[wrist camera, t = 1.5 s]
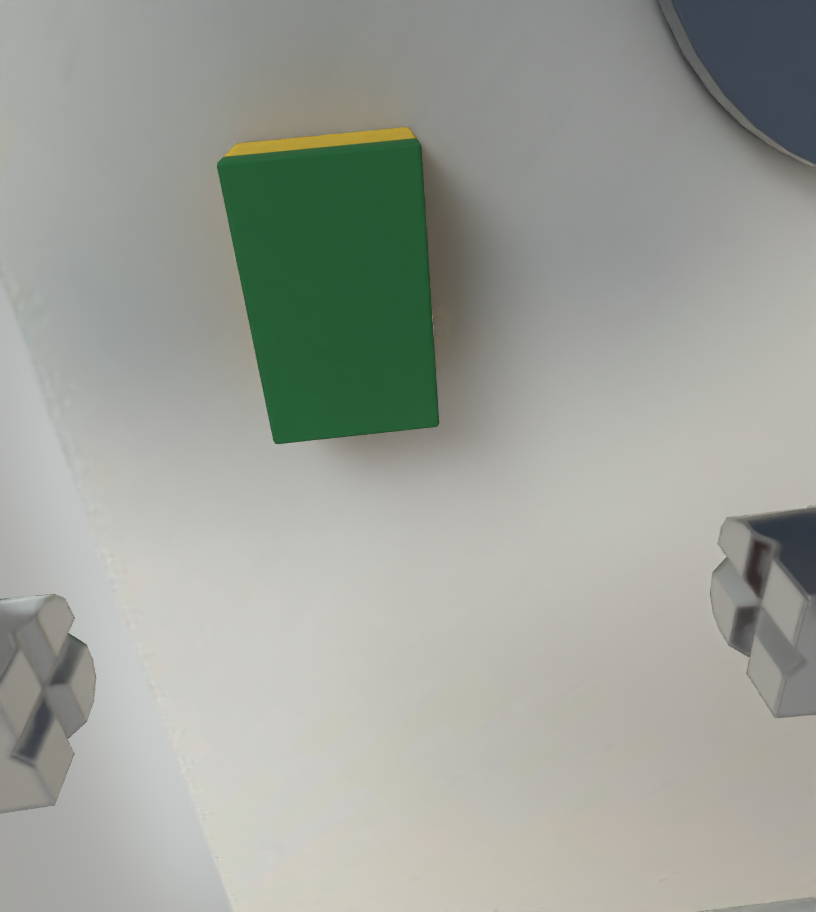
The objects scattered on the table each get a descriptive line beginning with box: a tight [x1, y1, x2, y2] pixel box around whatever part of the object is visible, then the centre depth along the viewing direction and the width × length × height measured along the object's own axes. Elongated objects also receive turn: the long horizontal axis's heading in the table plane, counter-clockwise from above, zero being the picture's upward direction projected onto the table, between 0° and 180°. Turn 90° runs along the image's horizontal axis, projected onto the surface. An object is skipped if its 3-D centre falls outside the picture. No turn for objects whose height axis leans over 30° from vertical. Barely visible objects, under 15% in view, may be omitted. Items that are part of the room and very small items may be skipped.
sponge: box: [217, 127, 439, 444], centre depth 18 cm, size 7×4×3 cm, turn 4°
